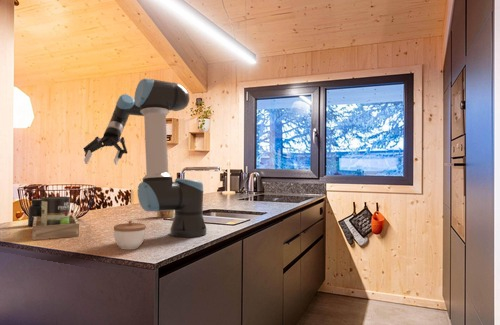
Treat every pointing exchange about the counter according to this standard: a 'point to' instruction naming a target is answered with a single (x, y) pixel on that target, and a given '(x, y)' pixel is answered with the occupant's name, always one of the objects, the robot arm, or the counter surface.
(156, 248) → the counter surface
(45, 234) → the caddy
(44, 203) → the coffee can
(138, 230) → the lidded jar
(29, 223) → the supplement bottle
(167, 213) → the candy box
